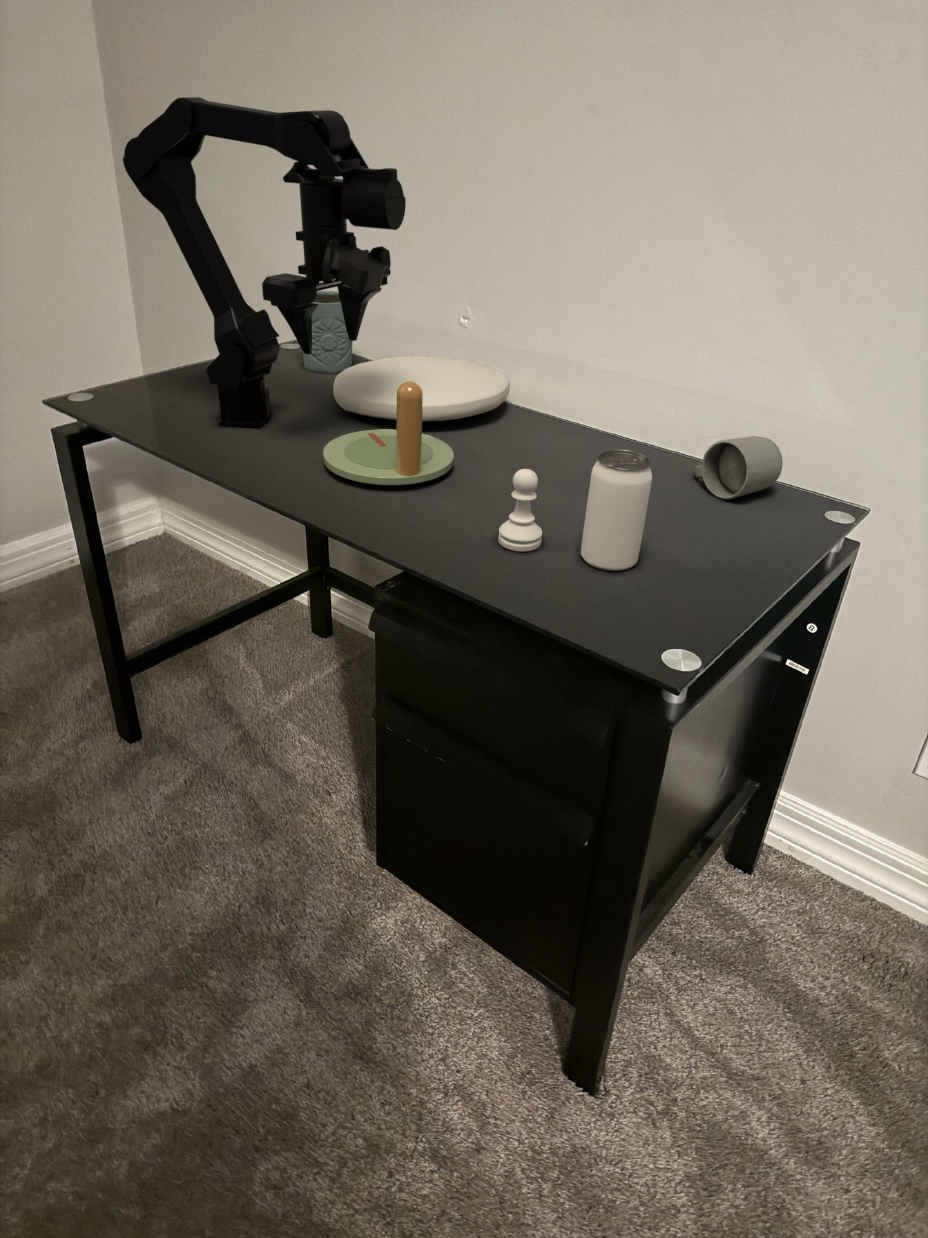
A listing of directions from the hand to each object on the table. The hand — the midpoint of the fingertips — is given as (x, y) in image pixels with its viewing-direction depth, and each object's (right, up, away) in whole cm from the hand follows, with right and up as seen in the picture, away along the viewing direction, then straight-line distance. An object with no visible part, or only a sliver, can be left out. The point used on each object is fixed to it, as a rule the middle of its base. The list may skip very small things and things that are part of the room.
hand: (330, 346), depth 120 cm
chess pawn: (+25, -29, -19) cm, 42 cm away
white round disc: (+11, -3, +21) cm, 24 cm away
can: (+35, -31, -21) cm, 51 cm away
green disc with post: (+8, -17, -1) cm, 18 cm away
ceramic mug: (+54, -20, -2) cm, 58 cm away
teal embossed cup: (-6, +8, +37) cm, 38 cm away
